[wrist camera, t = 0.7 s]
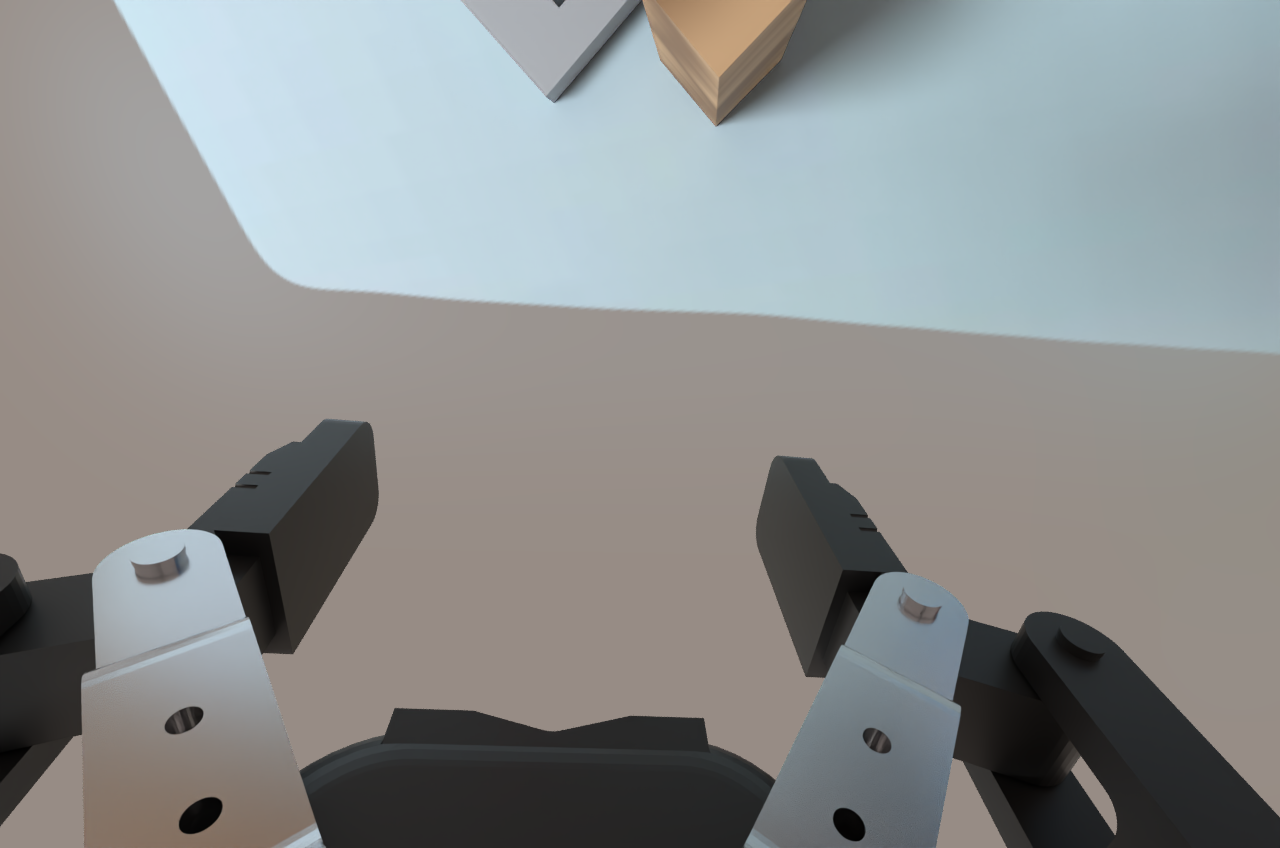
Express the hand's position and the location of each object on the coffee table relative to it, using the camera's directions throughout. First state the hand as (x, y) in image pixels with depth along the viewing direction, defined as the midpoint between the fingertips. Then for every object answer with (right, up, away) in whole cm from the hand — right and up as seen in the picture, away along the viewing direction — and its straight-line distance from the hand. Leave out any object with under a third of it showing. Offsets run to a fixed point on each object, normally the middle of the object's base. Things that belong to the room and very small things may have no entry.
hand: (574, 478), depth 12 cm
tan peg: (+5, +18, +16) cm, 25 cm away
